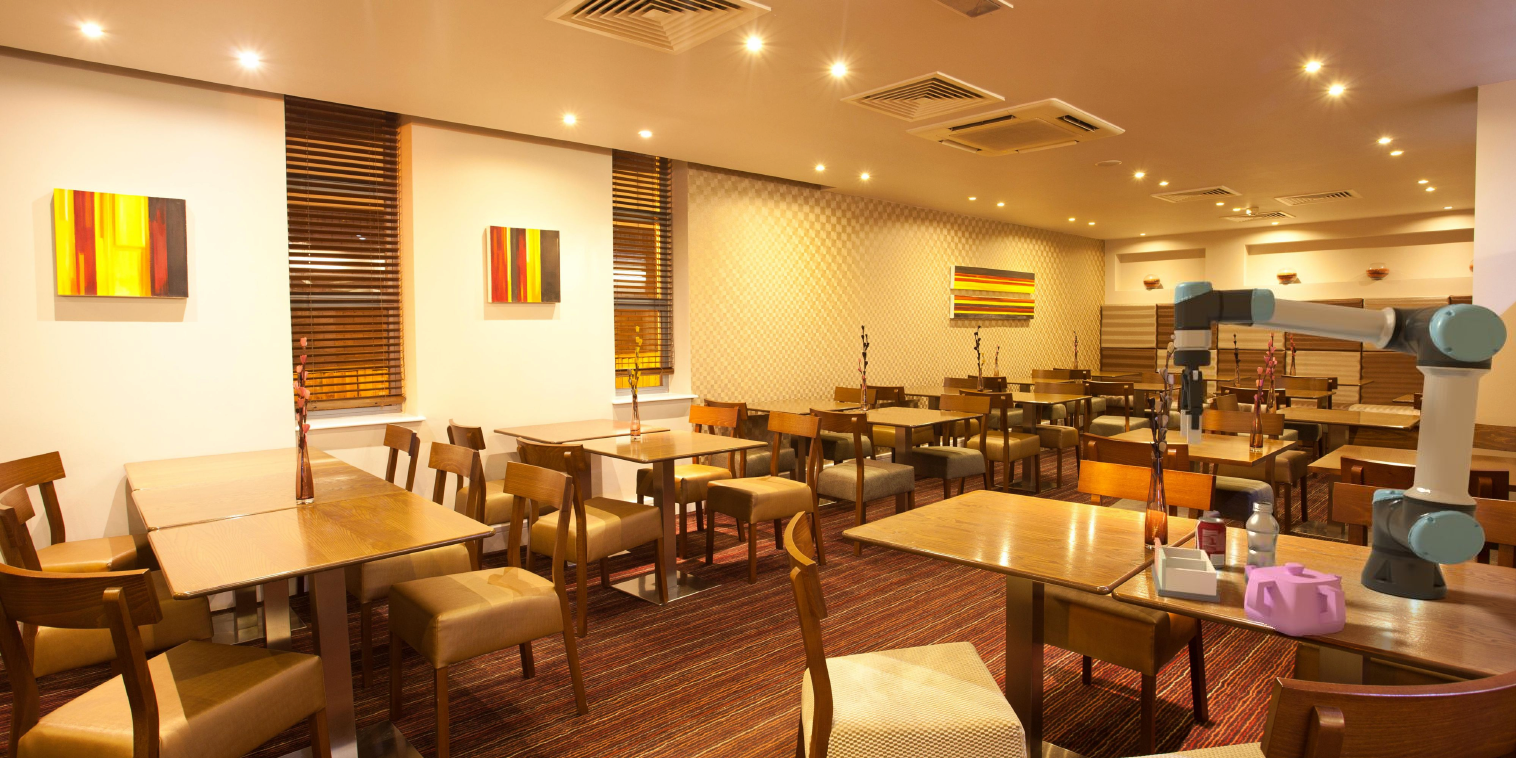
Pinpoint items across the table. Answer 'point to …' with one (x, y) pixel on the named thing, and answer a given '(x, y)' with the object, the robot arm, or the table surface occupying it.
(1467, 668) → the table surface
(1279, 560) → the table surface
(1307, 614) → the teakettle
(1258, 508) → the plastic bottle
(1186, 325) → the robot arm
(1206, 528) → the soda can
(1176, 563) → the socket board
